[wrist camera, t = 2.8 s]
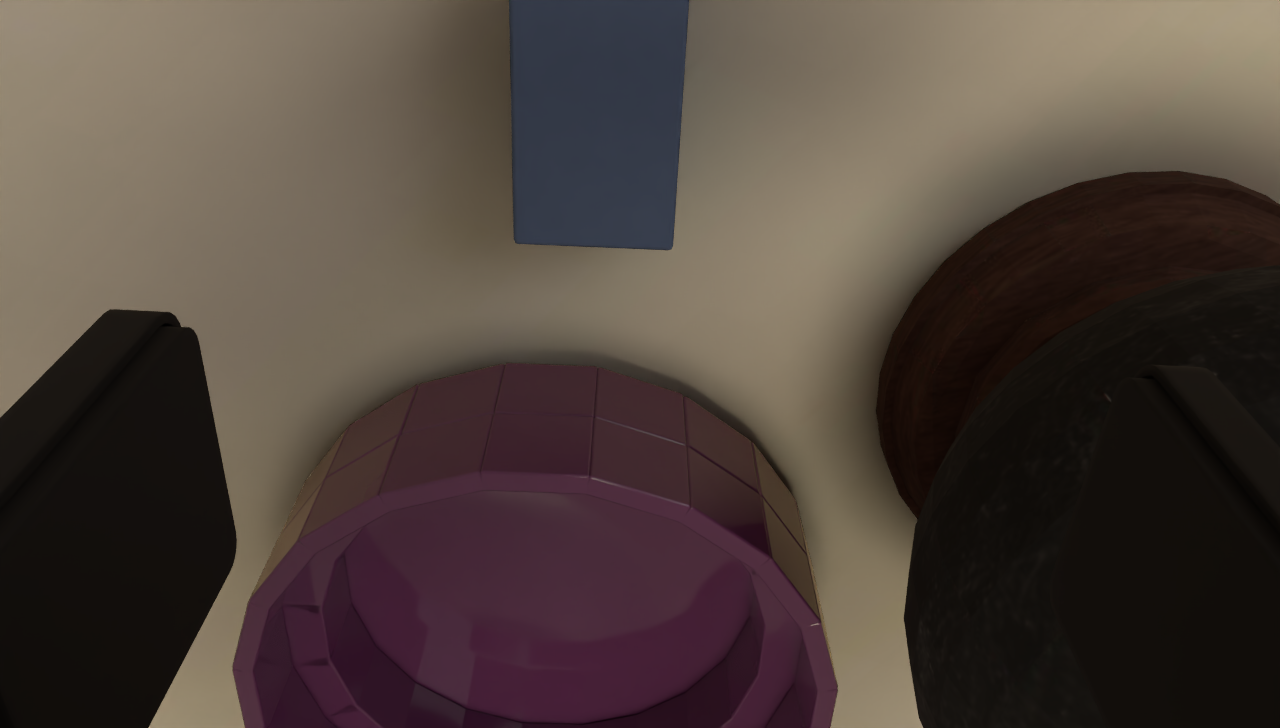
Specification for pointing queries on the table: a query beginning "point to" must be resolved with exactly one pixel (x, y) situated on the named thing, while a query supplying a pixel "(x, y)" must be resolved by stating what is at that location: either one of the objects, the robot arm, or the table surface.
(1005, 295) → the black crystal ball
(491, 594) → the bowl
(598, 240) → the blue block
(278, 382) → the table surface
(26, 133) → the table surface
